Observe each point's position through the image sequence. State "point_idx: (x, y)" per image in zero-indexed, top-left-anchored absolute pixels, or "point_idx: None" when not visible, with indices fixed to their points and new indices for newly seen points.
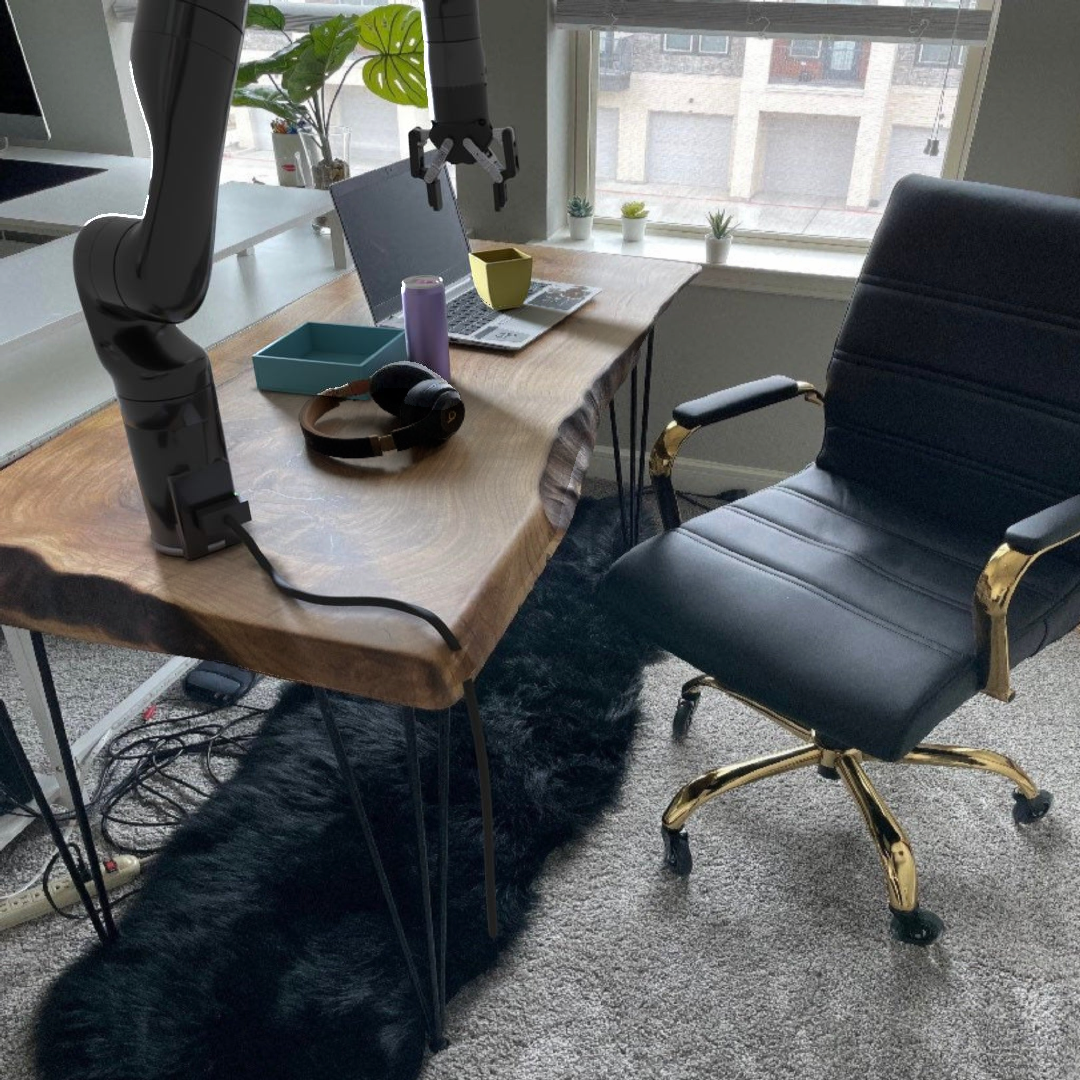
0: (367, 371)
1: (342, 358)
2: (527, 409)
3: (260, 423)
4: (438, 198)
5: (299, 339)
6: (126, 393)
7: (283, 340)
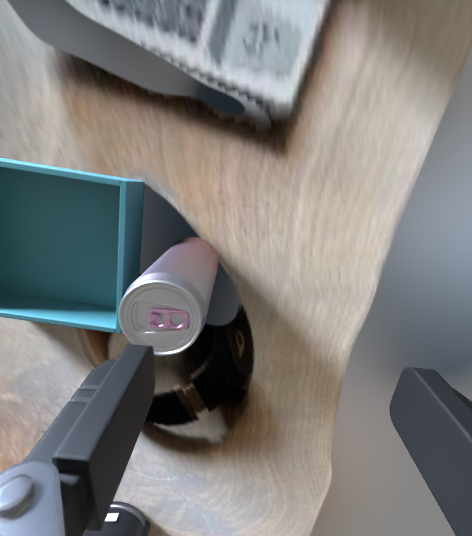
0: None
1: (48, 192)
2: (316, 320)
3: (57, 371)
4: (135, 419)
5: None
6: None
7: None
